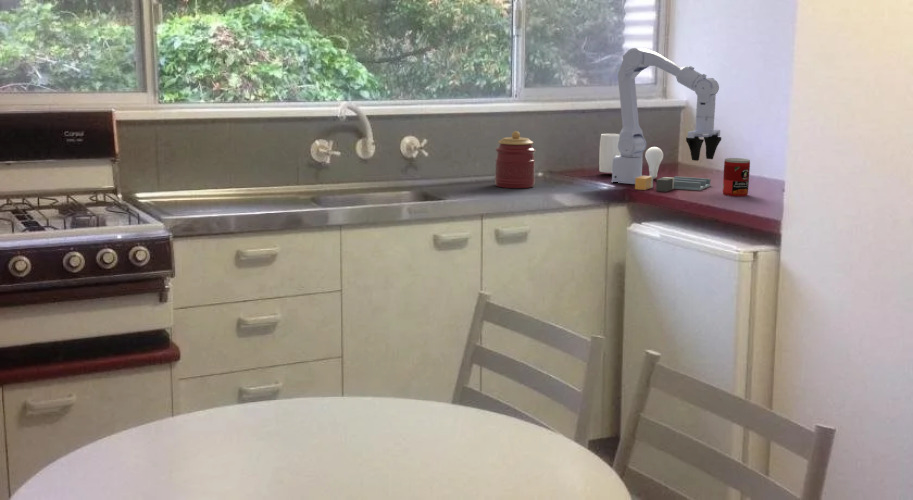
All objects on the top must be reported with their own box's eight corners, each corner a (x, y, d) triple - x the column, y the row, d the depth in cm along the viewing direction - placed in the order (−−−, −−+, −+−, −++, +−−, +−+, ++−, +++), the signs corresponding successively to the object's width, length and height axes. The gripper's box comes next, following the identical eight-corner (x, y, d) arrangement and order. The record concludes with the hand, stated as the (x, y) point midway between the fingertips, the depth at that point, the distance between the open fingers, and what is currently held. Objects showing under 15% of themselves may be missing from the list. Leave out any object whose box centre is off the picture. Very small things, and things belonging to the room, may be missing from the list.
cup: (624, 176, 378) (625, 135, 375) (599, 176, 378) (601, 135, 375) (620, 173, 386) (622, 133, 383) (597, 173, 386) (598, 133, 383)
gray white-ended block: (666, 191, 341) (667, 180, 341) (656, 190, 343) (656, 179, 342) (673, 189, 348) (674, 177, 347) (663, 188, 350) (663, 177, 349)
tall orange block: (645, 190, 345) (645, 178, 344) (634, 189, 346) (635, 178, 346) (652, 187, 351) (653, 176, 351) (642, 186, 353) (642, 175, 352)
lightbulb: (664, 178, 374) (666, 146, 372) (658, 180, 369) (659, 148, 367) (648, 177, 377) (649, 145, 375) (641, 178, 372) (642, 146, 370)
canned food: (734, 197, 331) (736, 161, 329) (716, 193, 338) (719, 158, 336) (753, 195, 335) (755, 160, 333) (735, 192, 342) (738, 157, 340)
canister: (513, 182, 358) (514, 128, 355) (543, 186, 349) (544, 131, 346) (486, 185, 349) (487, 130, 346) (515, 189, 340) (517, 133, 337)
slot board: (663, 187, 350) (663, 180, 350) (674, 183, 361) (674, 176, 361) (699, 190, 345) (700, 183, 344) (710, 186, 356) (710, 178, 355)
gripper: (701, 118, 336) (699, 162, 338) (729, 116, 345) (726, 159, 348) (683, 117, 341) (680, 160, 344) (710, 115, 350) (708, 157, 353)
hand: (702, 159), depth 346 cm, fingers open, 7 cm apart
